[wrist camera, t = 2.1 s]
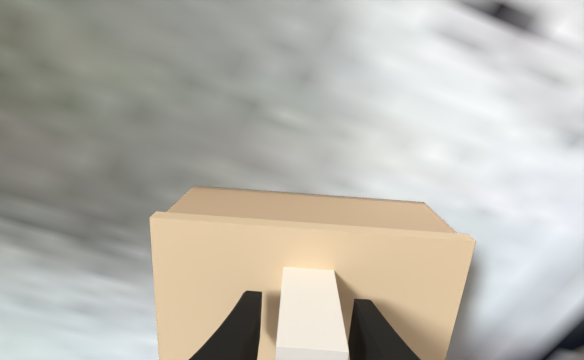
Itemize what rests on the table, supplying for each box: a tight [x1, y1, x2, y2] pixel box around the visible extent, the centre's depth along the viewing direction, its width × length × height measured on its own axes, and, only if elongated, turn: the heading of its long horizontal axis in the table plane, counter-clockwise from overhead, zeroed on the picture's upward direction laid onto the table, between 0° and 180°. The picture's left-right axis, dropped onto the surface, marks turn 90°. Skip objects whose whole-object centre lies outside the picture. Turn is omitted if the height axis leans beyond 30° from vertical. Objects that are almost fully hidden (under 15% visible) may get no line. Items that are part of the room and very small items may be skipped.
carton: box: [167, 186, 456, 233], centre depth 17 cm, size 14×12×4 cm
